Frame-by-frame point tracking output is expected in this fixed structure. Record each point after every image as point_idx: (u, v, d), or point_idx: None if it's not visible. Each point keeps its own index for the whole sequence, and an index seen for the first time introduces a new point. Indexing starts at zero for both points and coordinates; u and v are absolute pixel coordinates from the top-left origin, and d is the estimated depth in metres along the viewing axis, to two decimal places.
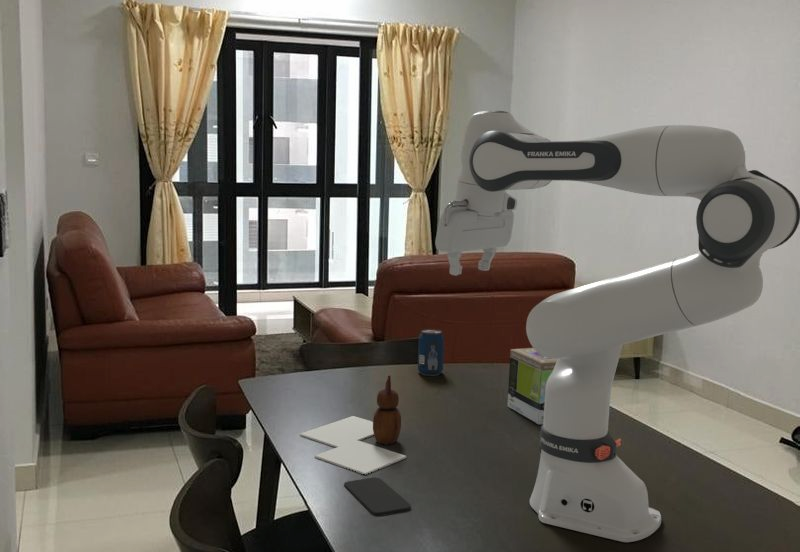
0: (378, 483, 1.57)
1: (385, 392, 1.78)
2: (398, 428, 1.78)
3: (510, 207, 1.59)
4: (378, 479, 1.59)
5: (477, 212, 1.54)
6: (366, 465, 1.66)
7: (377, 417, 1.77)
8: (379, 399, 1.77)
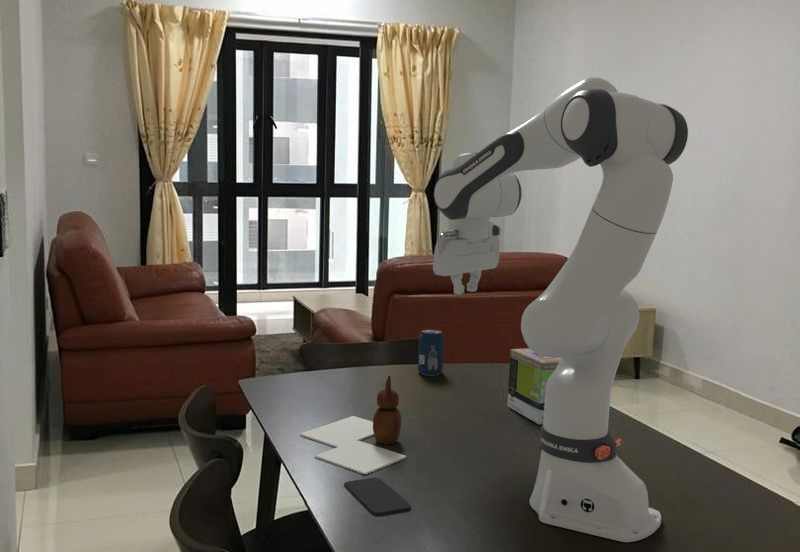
0: (378, 483, 1.57)
1: (385, 392, 1.78)
2: (398, 428, 1.78)
3: (495, 234, 1.85)
4: (378, 479, 1.59)
5: (466, 240, 1.80)
6: (366, 465, 1.66)
7: (377, 417, 1.77)
8: (379, 399, 1.77)
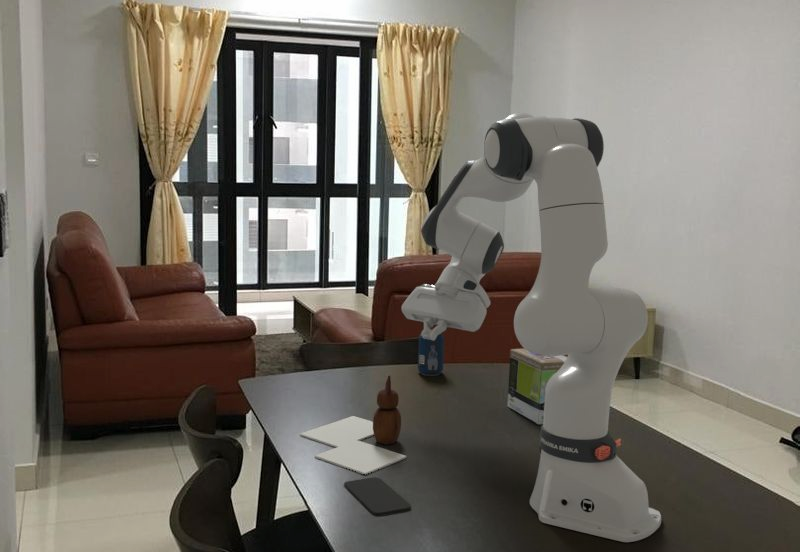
0: (378, 483, 1.57)
1: (385, 392, 1.78)
2: (398, 428, 1.78)
3: (468, 287, 1.87)
4: (378, 479, 1.59)
5: (438, 290, 1.93)
6: (366, 465, 1.66)
7: (377, 417, 1.77)
8: (379, 399, 1.77)
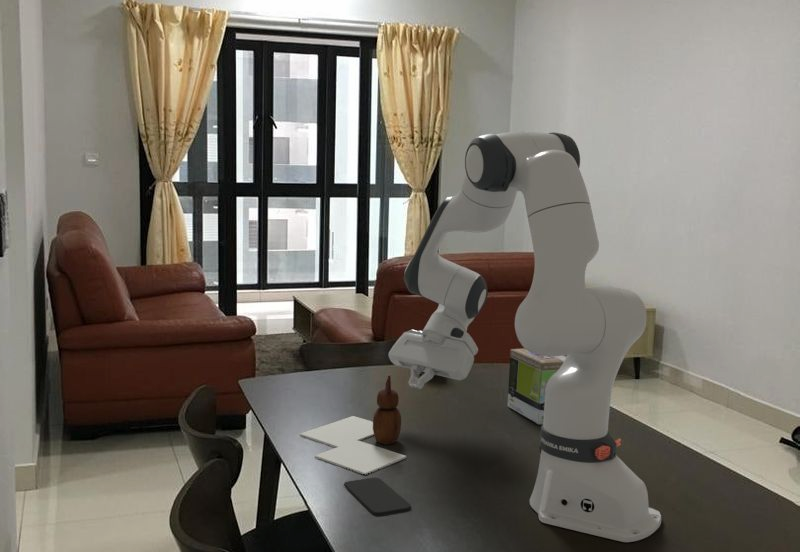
0: (378, 483, 1.57)
1: (385, 392, 1.78)
2: (398, 428, 1.78)
3: (455, 335, 1.86)
4: (378, 479, 1.59)
5: (425, 336, 1.91)
6: (366, 465, 1.66)
7: (377, 417, 1.77)
8: (379, 399, 1.77)
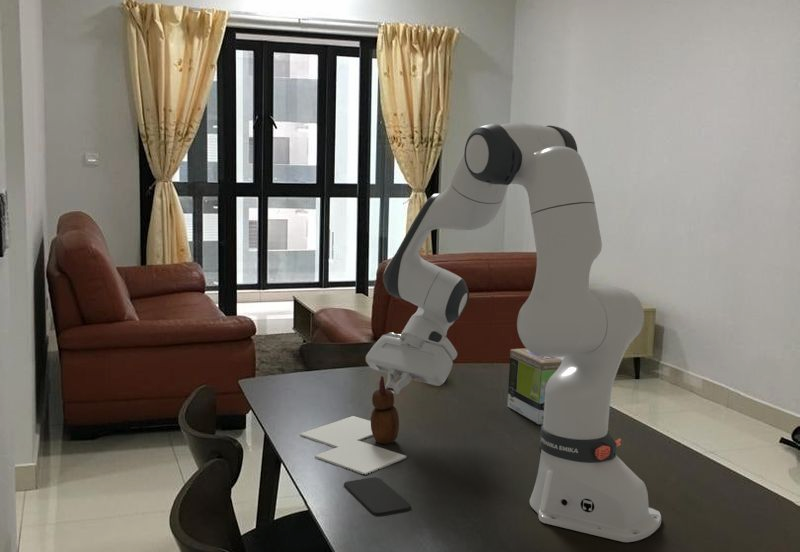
0: (378, 483, 1.57)
1: (380, 393, 1.77)
2: (396, 427, 1.78)
3: (433, 339, 1.80)
4: (378, 479, 1.59)
5: (403, 339, 1.86)
6: (366, 465, 1.66)
7: (374, 419, 1.77)
8: (375, 400, 1.76)
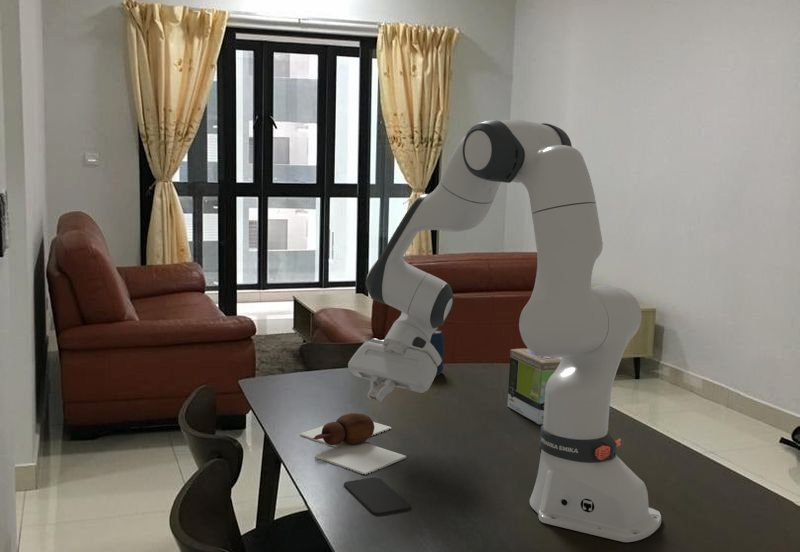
0: (378, 483, 1.57)
1: (329, 438, 1.73)
2: (360, 418, 1.77)
3: (417, 345, 1.75)
4: (378, 479, 1.59)
5: (386, 346, 1.81)
6: (366, 465, 1.66)
7: (353, 442, 1.75)
8: (336, 443, 1.73)
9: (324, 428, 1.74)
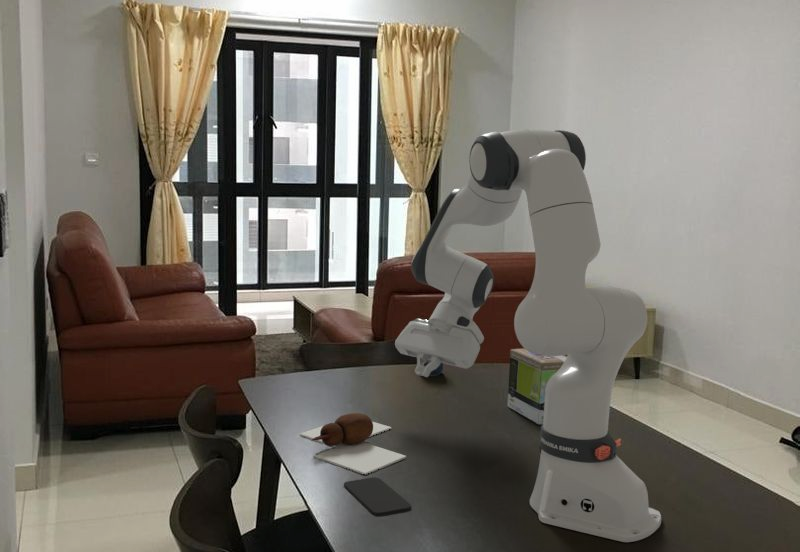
0: (378, 483, 1.57)
1: (327, 439, 1.73)
2: (357, 417, 1.77)
3: (461, 324, 1.87)
4: (377, 479, 1.59)
5: (431, 325, 1.93)
6: (366, 465, 1.66)
7: (352, 441, 1.75)
8: (335, 443, 1.73)
9: (322, 430, 1.74)
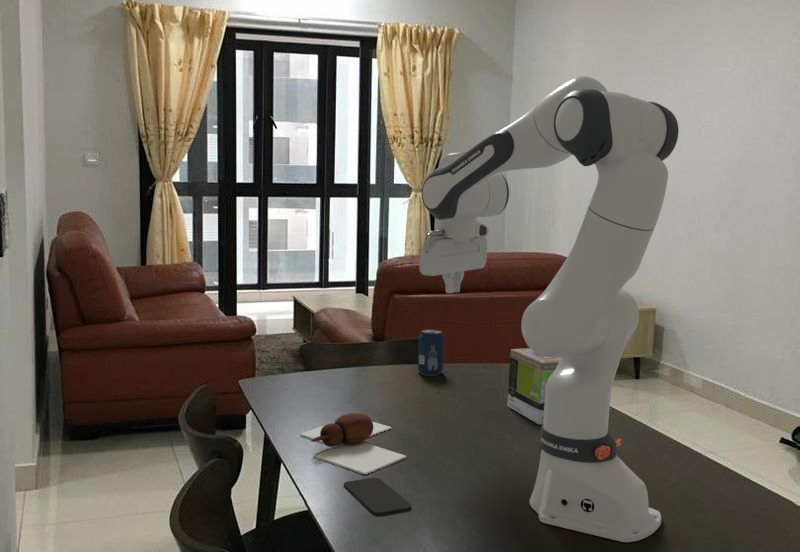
0: (377, 483, 1.57)
1: (327, 440, 1.73)
2: (357, 417, 1.77)
3: (482, 233, 1.85)
4: (377, 479, 1.59)
5: (453, 239, 1.79)
6: (366, 465, 1.66)
7: (352, 442, 1.75)
8: (335, 444, 1.73)
9: (322, 430, 1.74)
